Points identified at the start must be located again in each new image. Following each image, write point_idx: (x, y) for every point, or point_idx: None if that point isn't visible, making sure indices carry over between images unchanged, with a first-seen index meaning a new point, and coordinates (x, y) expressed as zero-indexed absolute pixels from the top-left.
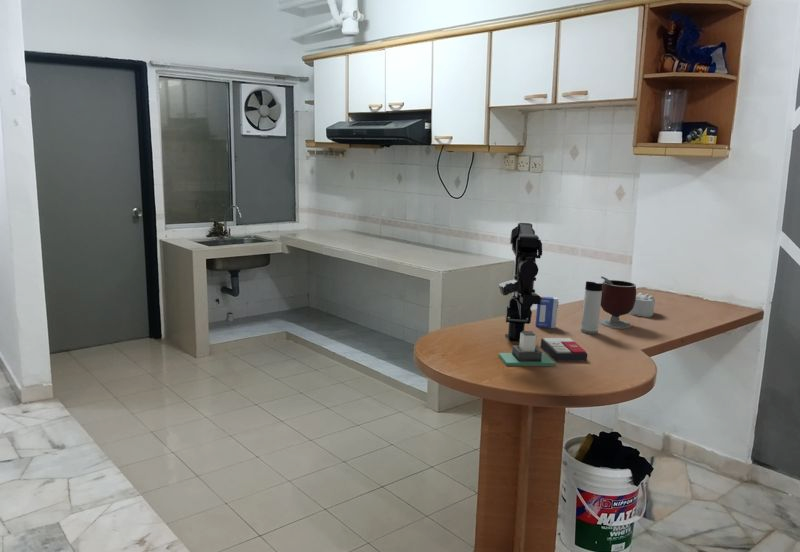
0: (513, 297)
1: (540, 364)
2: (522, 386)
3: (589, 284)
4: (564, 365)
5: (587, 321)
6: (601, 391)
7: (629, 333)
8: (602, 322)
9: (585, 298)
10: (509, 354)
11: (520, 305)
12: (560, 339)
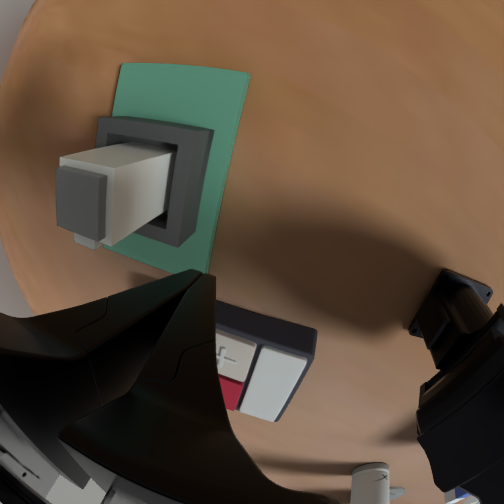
0: (170, 492)
1: None
2: (16, 74)
3: None
4: (116, 275)
5: (365, 488)
6: (3, 236)
7: (324, 492)
8: (392, 490)
9: None
10: (213, 115)
11: (41, 322)
12: (268, 396)
